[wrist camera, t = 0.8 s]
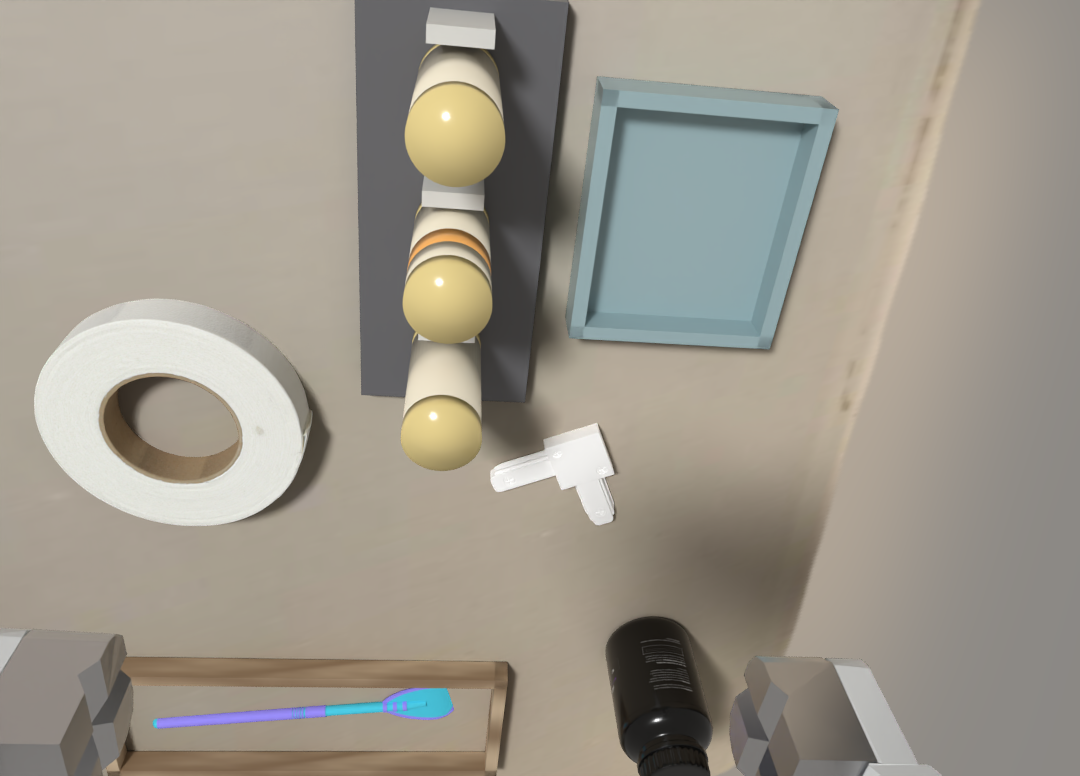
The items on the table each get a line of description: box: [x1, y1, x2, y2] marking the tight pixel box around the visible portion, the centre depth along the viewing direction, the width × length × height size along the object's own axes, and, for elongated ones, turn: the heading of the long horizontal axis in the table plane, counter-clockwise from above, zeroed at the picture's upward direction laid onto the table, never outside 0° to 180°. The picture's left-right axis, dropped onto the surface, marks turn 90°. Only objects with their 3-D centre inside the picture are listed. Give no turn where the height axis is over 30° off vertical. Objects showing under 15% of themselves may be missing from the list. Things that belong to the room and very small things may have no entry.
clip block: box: [355, 0, 569, 402], centre depth 45 cm, size 23×10×5 cm, turn 174°
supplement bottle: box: [606, 617, 713, 776], centre depth 63 cm, size 7×7×12 cm
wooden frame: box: [106, 657, 508, 776], centre depth 69 cm, size 13×32×2 cm, turn 84°
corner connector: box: [490, 423, 614, 525], centre depth 58 cm, size 8×8×2 cm
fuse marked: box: [403, 202, 492, 344], centre depth 42 cm, size 4×4×10 cm
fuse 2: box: [401, 331, 482, 471], centre depth 46 cm, size 4×4×10 cm
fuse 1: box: [405, 44, 505, 187], centre depth 38 cm, size 4×4×10 cm
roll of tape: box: [34, 299, 313, 526], centre depth 52 cm, size 16×15×3 cm
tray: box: [565, 76, 839, 349], centre depth 47 cm, size 14×12×2 cm
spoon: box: [153, 688, 454, 729], centre depth 69 cm, size 25×4×1 cm, turn 90°
